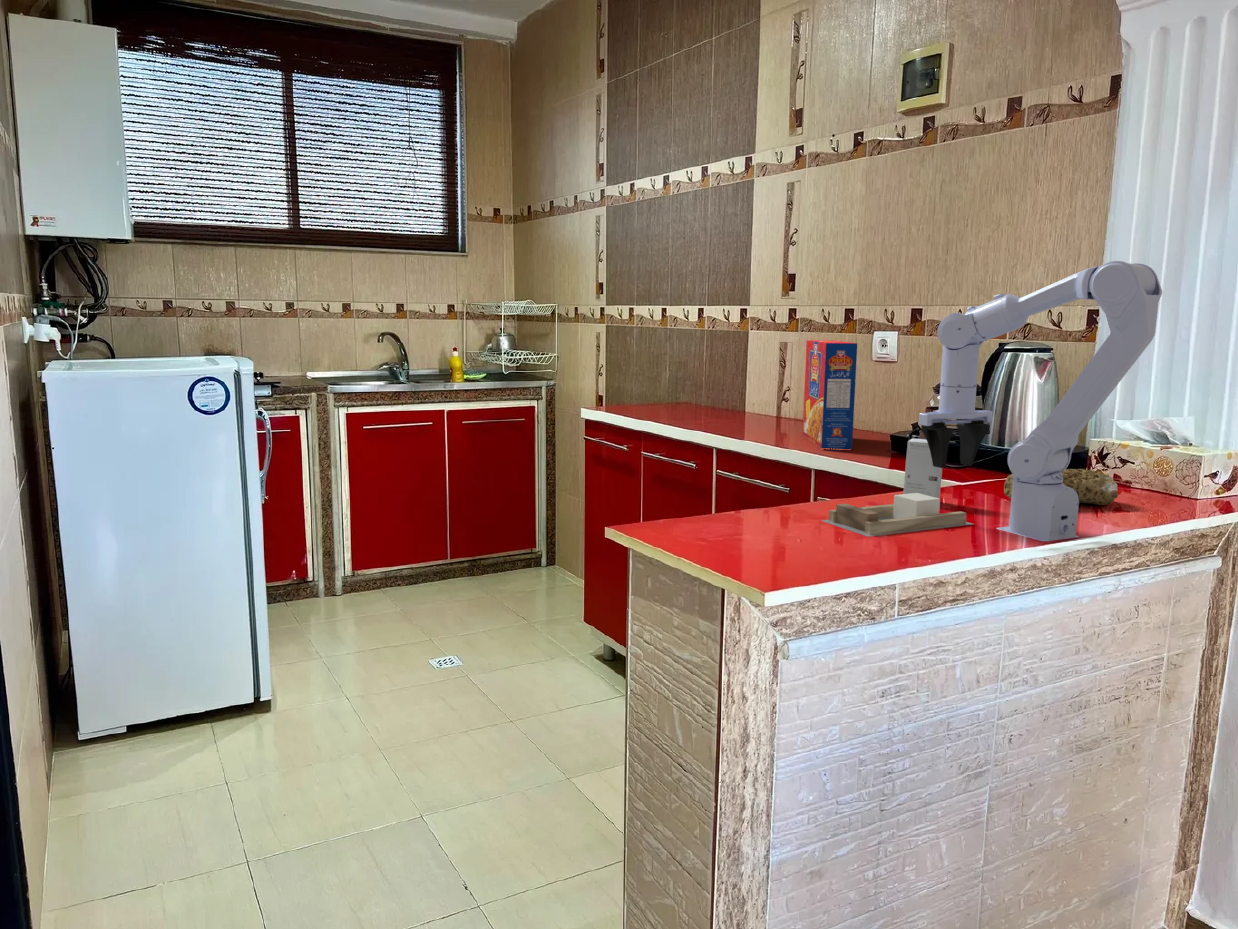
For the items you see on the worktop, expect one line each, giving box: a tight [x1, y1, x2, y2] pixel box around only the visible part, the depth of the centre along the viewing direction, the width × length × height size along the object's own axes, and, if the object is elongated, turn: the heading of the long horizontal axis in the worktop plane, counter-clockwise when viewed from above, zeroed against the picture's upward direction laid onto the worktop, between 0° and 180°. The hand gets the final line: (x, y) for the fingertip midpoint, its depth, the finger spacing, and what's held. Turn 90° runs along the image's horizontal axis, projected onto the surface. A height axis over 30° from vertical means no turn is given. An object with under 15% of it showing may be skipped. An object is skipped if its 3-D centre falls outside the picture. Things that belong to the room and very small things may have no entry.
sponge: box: [1003, 468, 1119, 506], centre depth 166 cm, size 13×8×20 cm
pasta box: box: [802, 339, 858, 450], centre depth 244 cm, size 28×8×28 cm, turn 178°
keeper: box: [893, 493, 941, 519], centre depth 149 cm, size 5×5×4 cm
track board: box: [820, 516, 973, 538], centre depth 148 cm, size 12×22×1 cm, turn 114°
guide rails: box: [828, 503, 967, 535], centre depth 148 cm, size 10×20×3 cm, turn 114°
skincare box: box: [902, 438, 943, 500], centre depth 164 cm, size 6×4×12 cm
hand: (952, 465), depth 151 cm, fingers open, 6 cm apart
